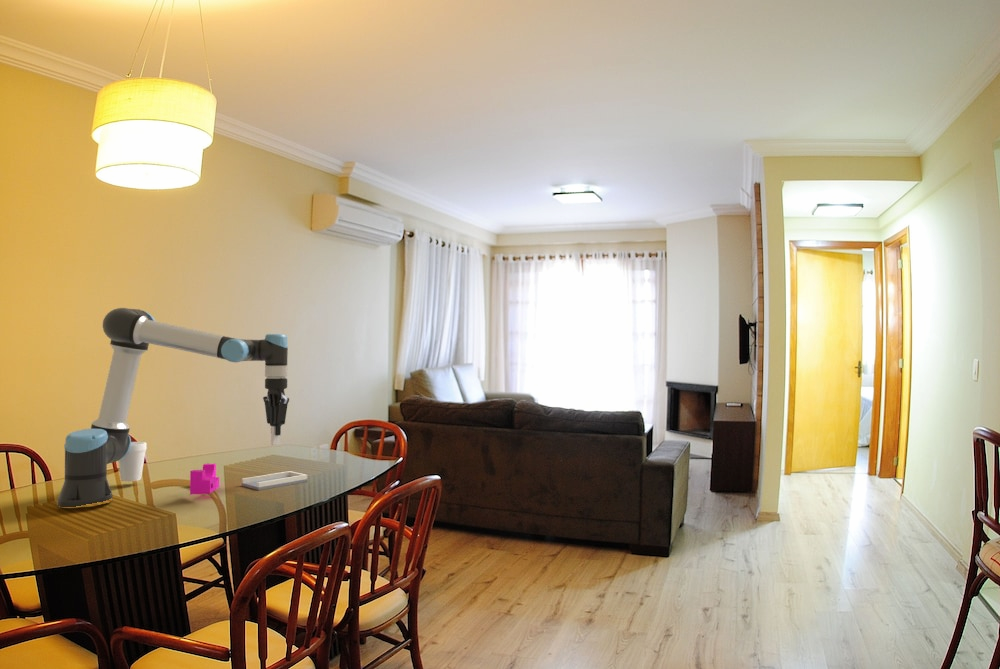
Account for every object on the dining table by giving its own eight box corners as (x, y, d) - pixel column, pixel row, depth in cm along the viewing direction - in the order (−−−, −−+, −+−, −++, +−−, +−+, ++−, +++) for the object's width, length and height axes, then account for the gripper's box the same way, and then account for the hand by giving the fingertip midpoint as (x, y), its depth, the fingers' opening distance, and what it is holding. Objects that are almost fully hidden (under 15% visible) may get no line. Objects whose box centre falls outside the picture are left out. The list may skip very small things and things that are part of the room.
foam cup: (132, 482, 238) (133, 445, 238) (109, 481, 240) (110, 445, 240) (151, 477, 247) (152, 442, 248) (129, 476, 249) (130, 441, 249)
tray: (258, 490, 227) (259, 482, 227) (241, 485, 234) (241, 478, 234) (307, 481, 241) (307, 474, 242) (289, 477, 249) (289, 471, 249)
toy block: (209, 494, 222) (210, 471, 222) (190, 494, 221) (190, 471, 221) (223, 484, 237) (223, 463, 237) (204, 485, 236) (204, 463, 236)
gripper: (296, 377, 237) (295, 445, 237) (275, 376, 245) (274, 441, 245) (277, 378, 231) (276, 447, 231) (256, 377, 240) (256, 443, 239)
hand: (275, 444), depth 238 cm, fingers closed
